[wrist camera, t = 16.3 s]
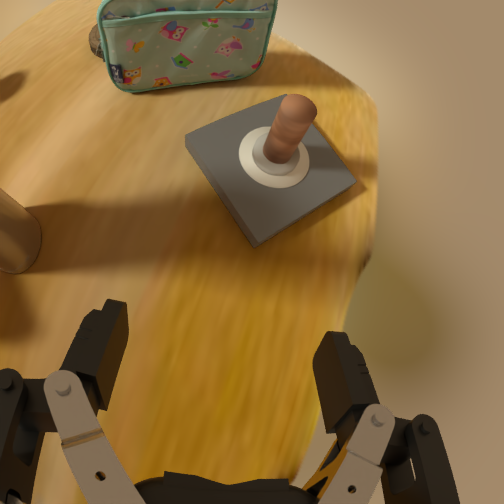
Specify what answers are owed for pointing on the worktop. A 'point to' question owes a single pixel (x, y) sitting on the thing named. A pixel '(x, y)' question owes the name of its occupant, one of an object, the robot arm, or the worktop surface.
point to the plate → (260, 183)
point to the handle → (284, 136)
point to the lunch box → (182, 40)
